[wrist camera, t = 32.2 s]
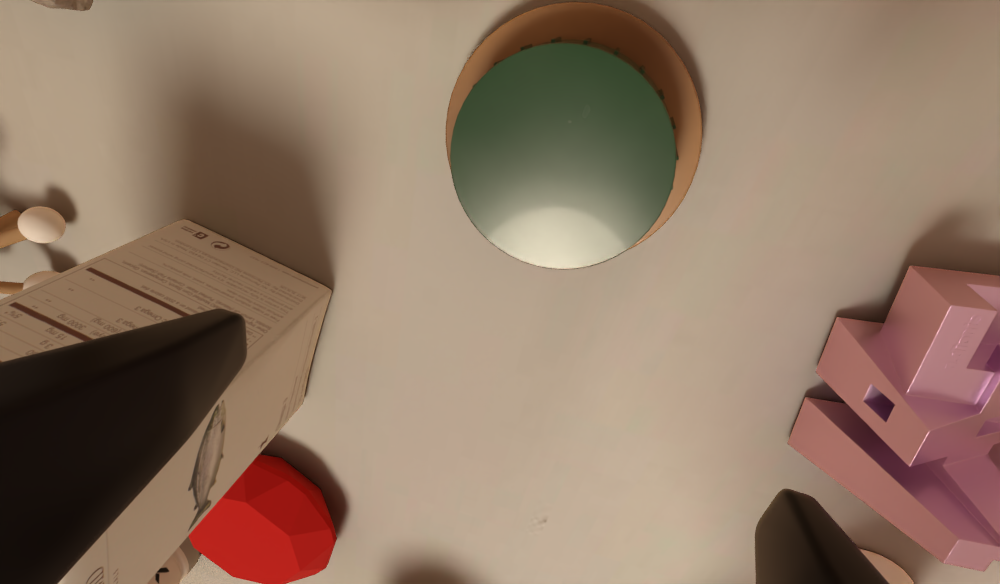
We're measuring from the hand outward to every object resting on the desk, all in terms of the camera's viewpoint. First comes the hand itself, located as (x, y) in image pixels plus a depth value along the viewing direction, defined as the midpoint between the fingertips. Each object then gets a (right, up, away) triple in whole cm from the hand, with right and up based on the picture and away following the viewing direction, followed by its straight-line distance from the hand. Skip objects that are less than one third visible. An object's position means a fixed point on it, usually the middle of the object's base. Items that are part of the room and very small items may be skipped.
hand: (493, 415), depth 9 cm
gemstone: (-13, -10, +22) cm, 27 cm away
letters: (+15, -1, +10) cm, 18 cm away
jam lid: (+2, +6, +7) cm, 9 cm away
